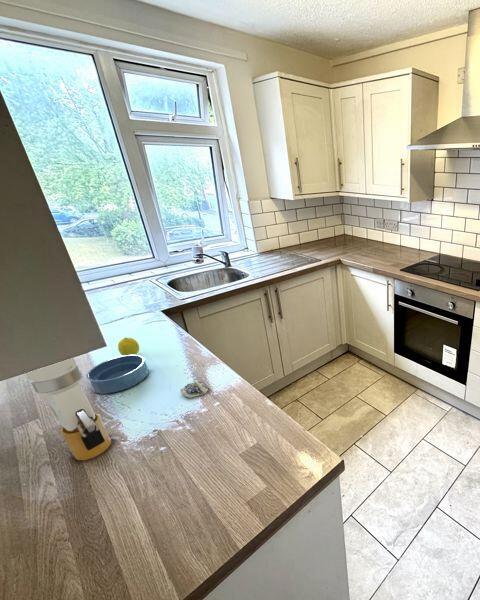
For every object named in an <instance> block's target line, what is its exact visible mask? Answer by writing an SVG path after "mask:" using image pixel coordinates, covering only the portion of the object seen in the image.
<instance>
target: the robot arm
mask: <svg viewBox="0 0 480 600" xmlns="http://www.w3.org/2000/svg"><path fill="white" fill-rule="evenodd" d="M25 375H26V377H27V379H28V381H29V382H30V385H31V386H32V388H33V390H34V391H35V393H36V394H37V395H39V396H43V397H44V399H45V401H46V403H47V405H48V407H49V409H50V411H51V413H52V416H53V417H54V419H55V420H56V422H58V423H59V425H61V426H62V427H64V428H65V429H66V430H68V431H73V430H74V429H76V428H77V429H78V431H79V432H80V434H81V435H82V436H81V439H82V441H83V443H84V445H85V447H86V449H87V450H91V449H93V448H94V447H96V446H98V445H100V444H101V443H103V442H104V441H105V440H104V438H103V436H102V434H101V432H100V430H99V428H98V427H97V426H96V424H95V423H94V421H93V420H94V419H95V414H94V413H95V411H94V409H93V407H92V405H91V403H90V401H89V399H88V397H87V395H86V393H85V390H84V389H83V388H82V385H81V383H80V382H82V380H83V378H84V375H83V373H82V371H81V369H80V367H79V364H78V362H77V361H76V358H75V357H74V358H72V359H68V360H65V361H62V362H60V363H56V364H53V365H51V366H47V367H44V368H42V369H39V370H35V371H32V372H29V373H25ZM79 421H81V422H82V423H81V424H79V425H78V422H79ZM83 425H84V426H85V428H86V429H84V431H83V429H82V428H81V426H83Z"/></svg>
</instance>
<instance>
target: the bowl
mask: <svg viewBox="0 0 480 600" xmlns="http://www.w3.org/2000/svg"><path fill="white" fill-rule="evenodd" d="M149 371H150V370H149V368H148V365H147V362H146V360H145V357H144V356H142V355H139V354H136V355H125V356H123V355H120V356H116V357H113V358H110V359H107V360H105V361H103V362H100V363H98V364H97V365H95V366H94V367H92V368H91V369H90V370H89V371H88V372H87V374H86V380H87V382H88V384H89V386H90V388H91V390H92V391H93V392H94V393H96V394H102V395H103V394H112V393H116V392H120V391H123V390H126V389H129V388H131V387H133V386H135V385H137V384H139V383H140V382H141V381H143V380H144V379H145V378H146V377H147V376H148V374H149Z"/></svg>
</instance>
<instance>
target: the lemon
mask: <svg viewBox="0 0 480 600" xmlns="http://www.w3.org/2000/svg"><path fill="white" fill-rule="evenodd" d="M117 349H118V352H119V354H120V356H125V355H138V354H139V352H140V345H139V343H138V341H137V340H136V339H134V338H133V337H127V336H126V337H123V338H122V339H121V340H119V342H118V344H117Z"/></svg>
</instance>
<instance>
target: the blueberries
mask: <svg viewBox="0 0 480 600" xmlns="http://www.w3.org/2000/svg"><path fill="white" fill-rule="evenodd" d="M204 386H205V385H204V382H203V383H202V382H201V381H195V382H191V383H187V384H186V385H184V387H183V388H181V389H180V390H179V391H180V393H181V394H183V396H185V397H187V398H189V399H191V398H195V397H200V396H203V395H205V394H207V393H208V390H209V389H208V388H207V387H206V386H205V387H204Z"/></svg>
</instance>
